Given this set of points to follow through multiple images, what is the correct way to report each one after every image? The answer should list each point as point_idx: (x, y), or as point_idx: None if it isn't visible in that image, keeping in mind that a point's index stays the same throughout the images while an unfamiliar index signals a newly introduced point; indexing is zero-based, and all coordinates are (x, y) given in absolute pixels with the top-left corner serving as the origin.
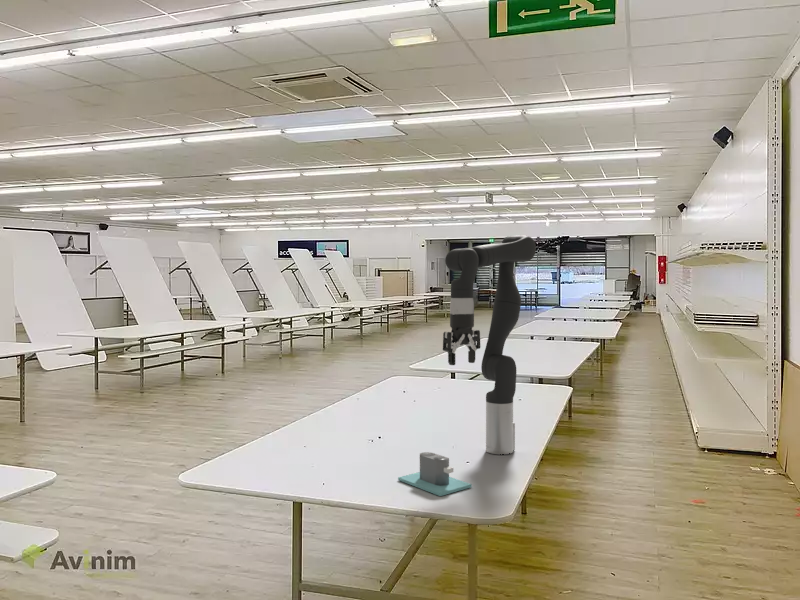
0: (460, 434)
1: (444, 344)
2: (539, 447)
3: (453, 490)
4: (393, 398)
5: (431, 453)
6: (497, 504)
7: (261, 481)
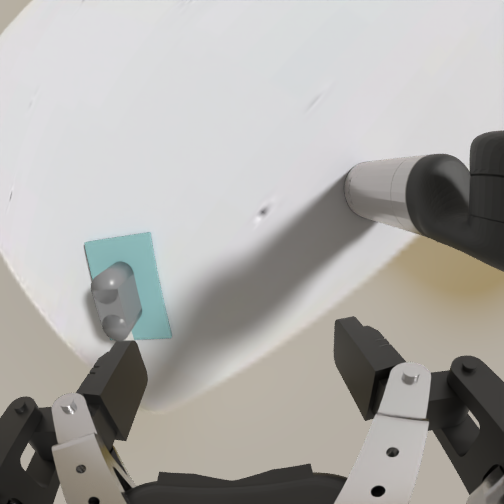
0: (381, 50)
1: (3, 444)
2: None
3: (134, 338)
4: None
5: (113, 290)
6: (168, 392)
7: None
